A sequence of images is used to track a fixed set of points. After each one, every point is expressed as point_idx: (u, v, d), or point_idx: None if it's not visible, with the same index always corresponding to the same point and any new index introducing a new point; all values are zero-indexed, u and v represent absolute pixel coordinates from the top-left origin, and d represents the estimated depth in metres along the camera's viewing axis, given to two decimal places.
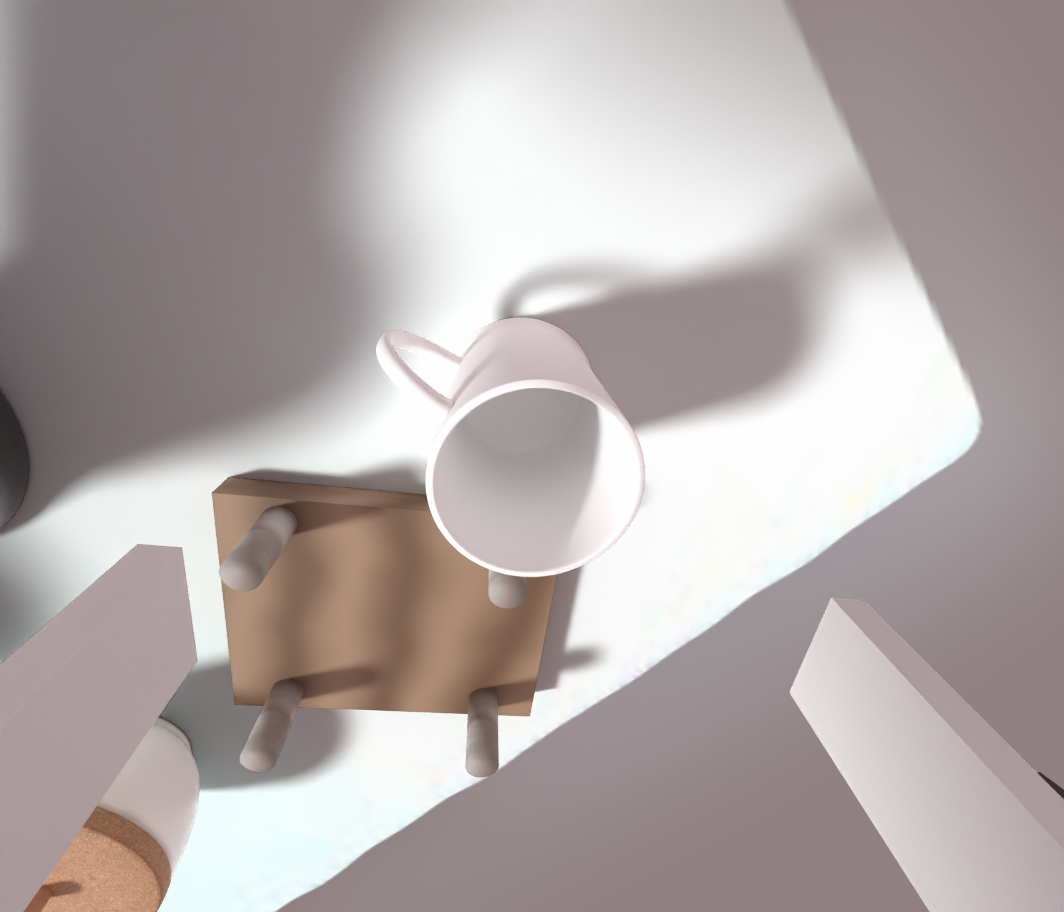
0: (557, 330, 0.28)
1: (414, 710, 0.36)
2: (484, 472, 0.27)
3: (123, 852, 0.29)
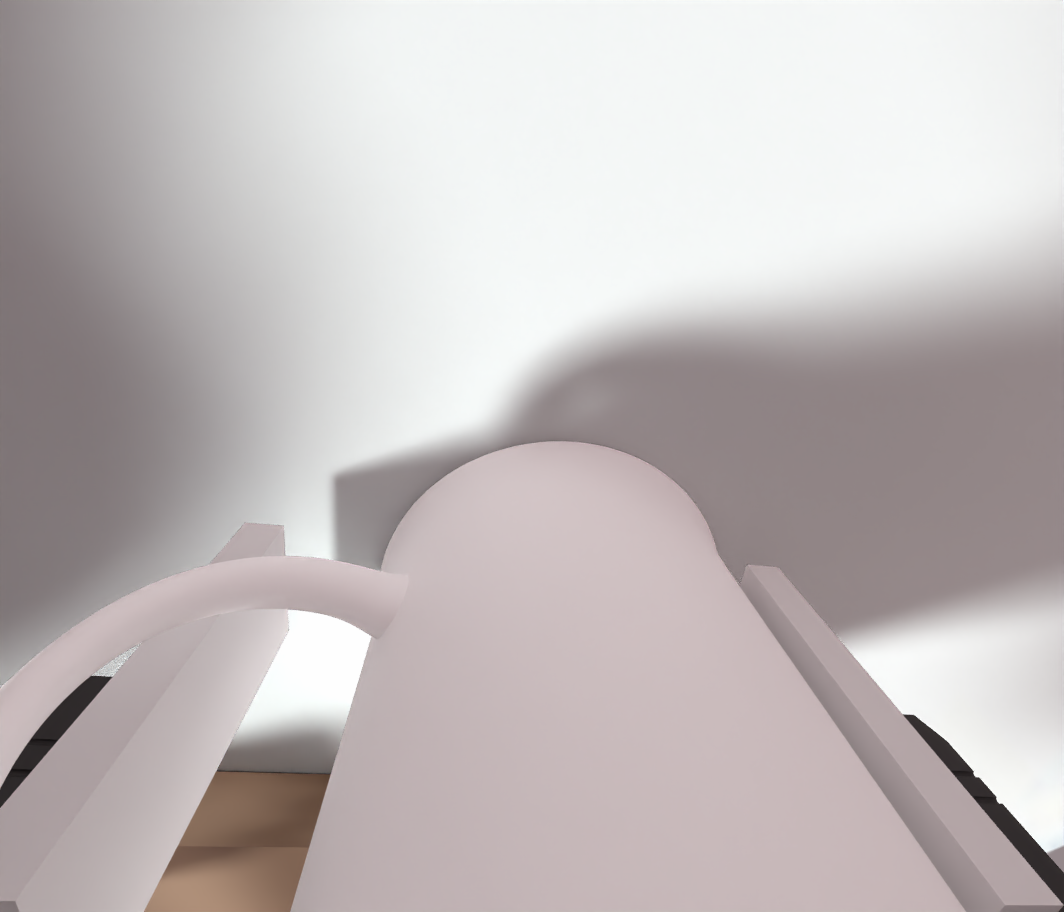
0: (648, 475, 0.11)
1: None
2: None
3: None
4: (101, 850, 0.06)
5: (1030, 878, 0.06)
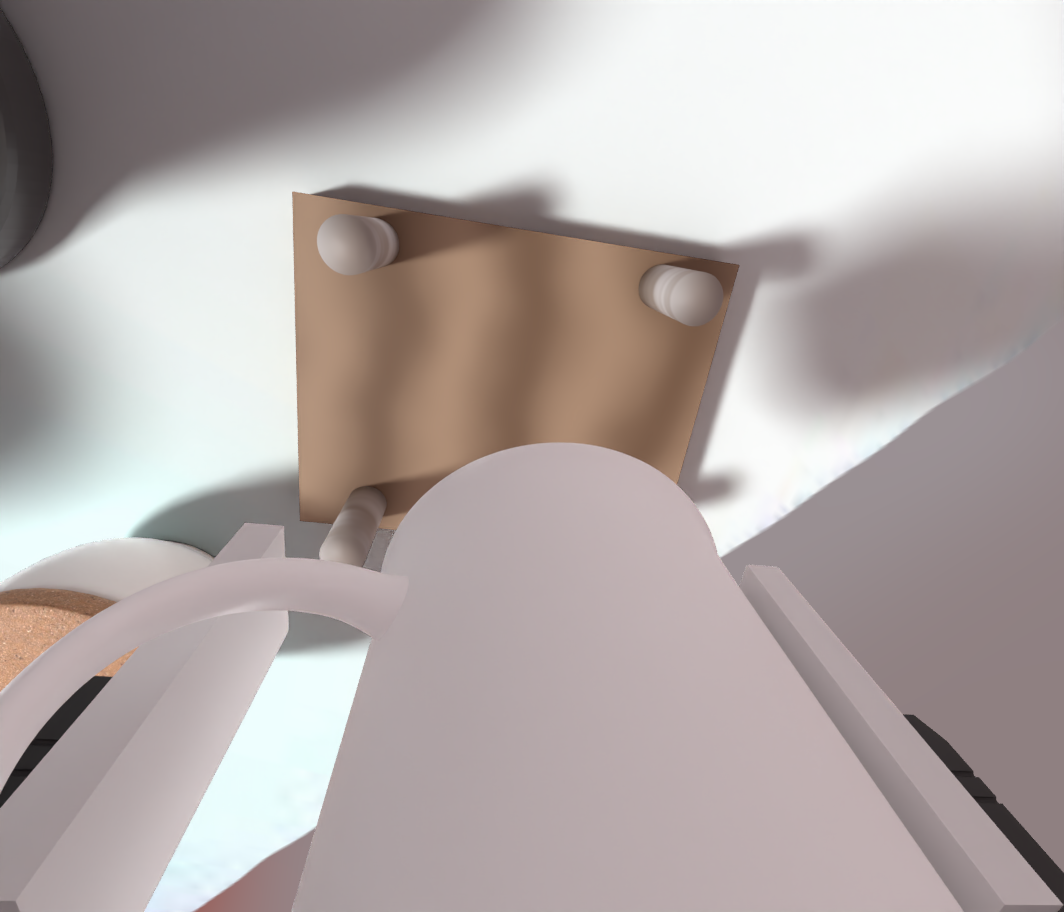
0: (648, 476, 0.11)
1: None
2: None
3: None
4: (101, 850, 0.06)
5: (1029, 877, 0.06)
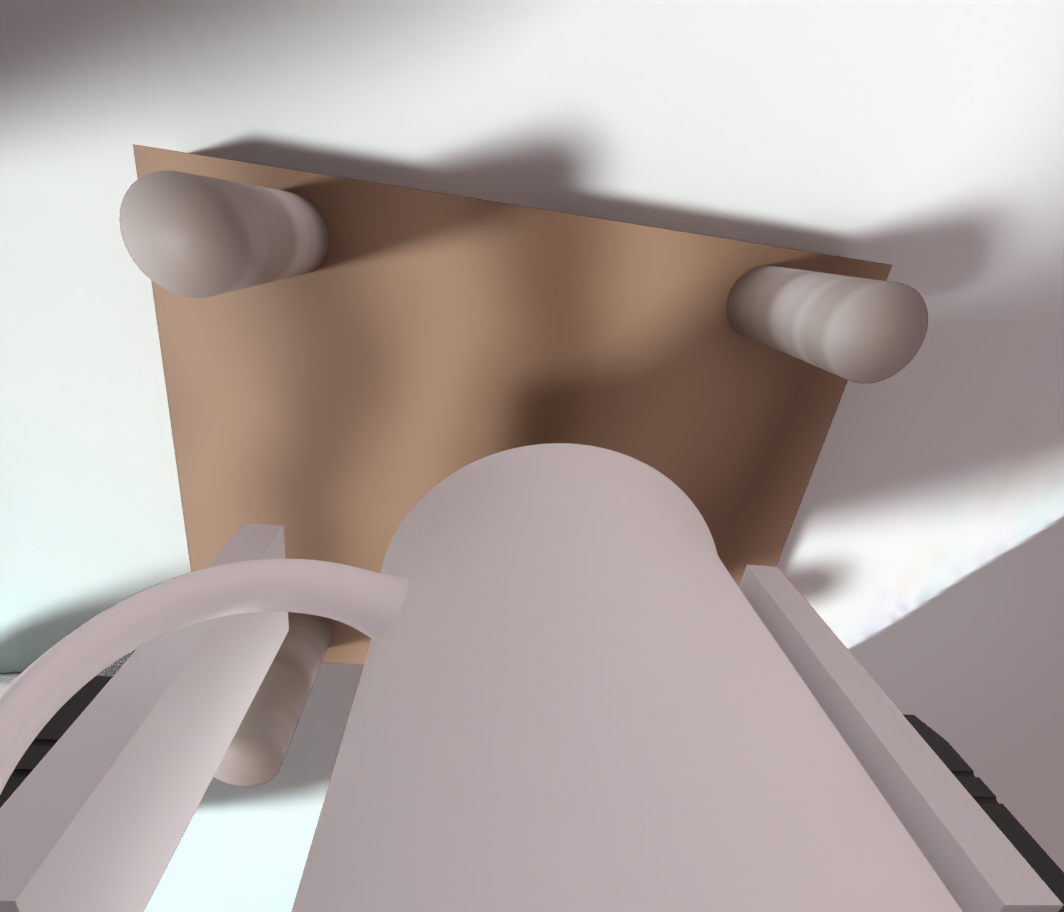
0: (648, 477, 0.11)
1: None
2: None
3: None
4: (101, 850, 0.06)
5: (1030, 878, 0.06)
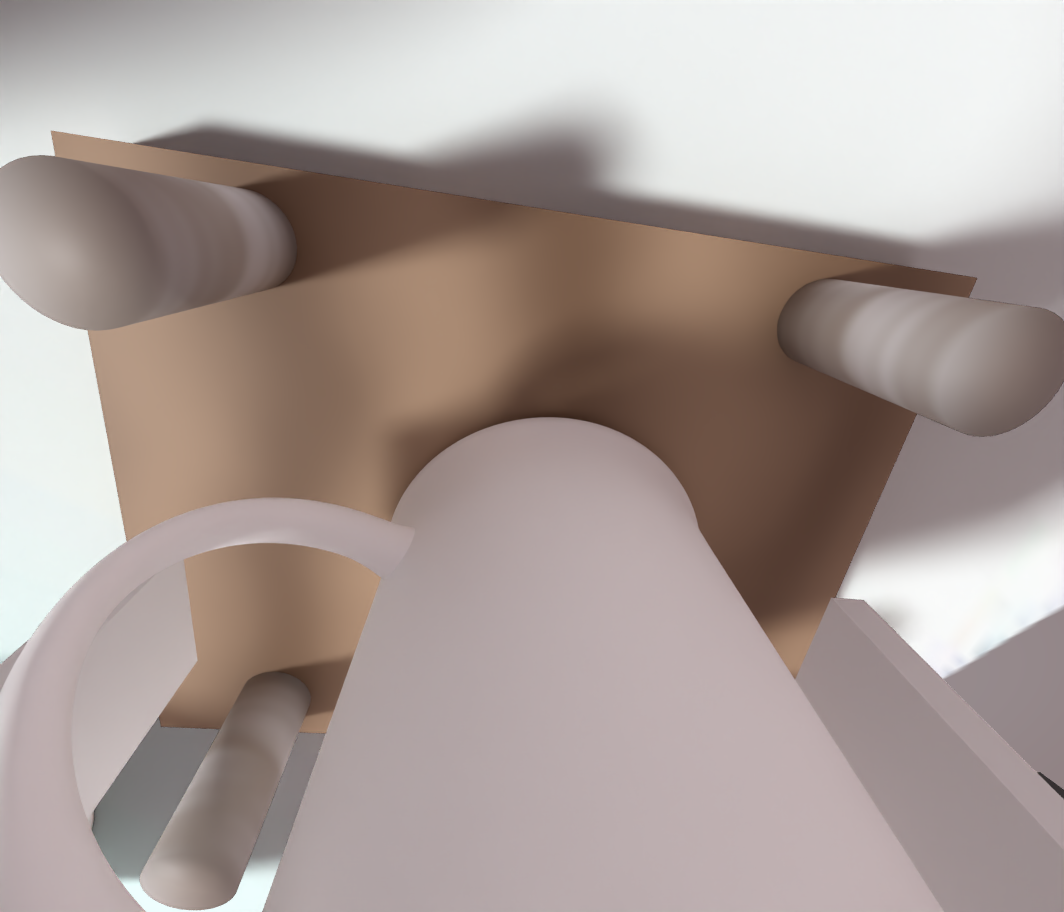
0: (636, 451, 0.13)
1: None
2: None
3: None
4: None
5: None
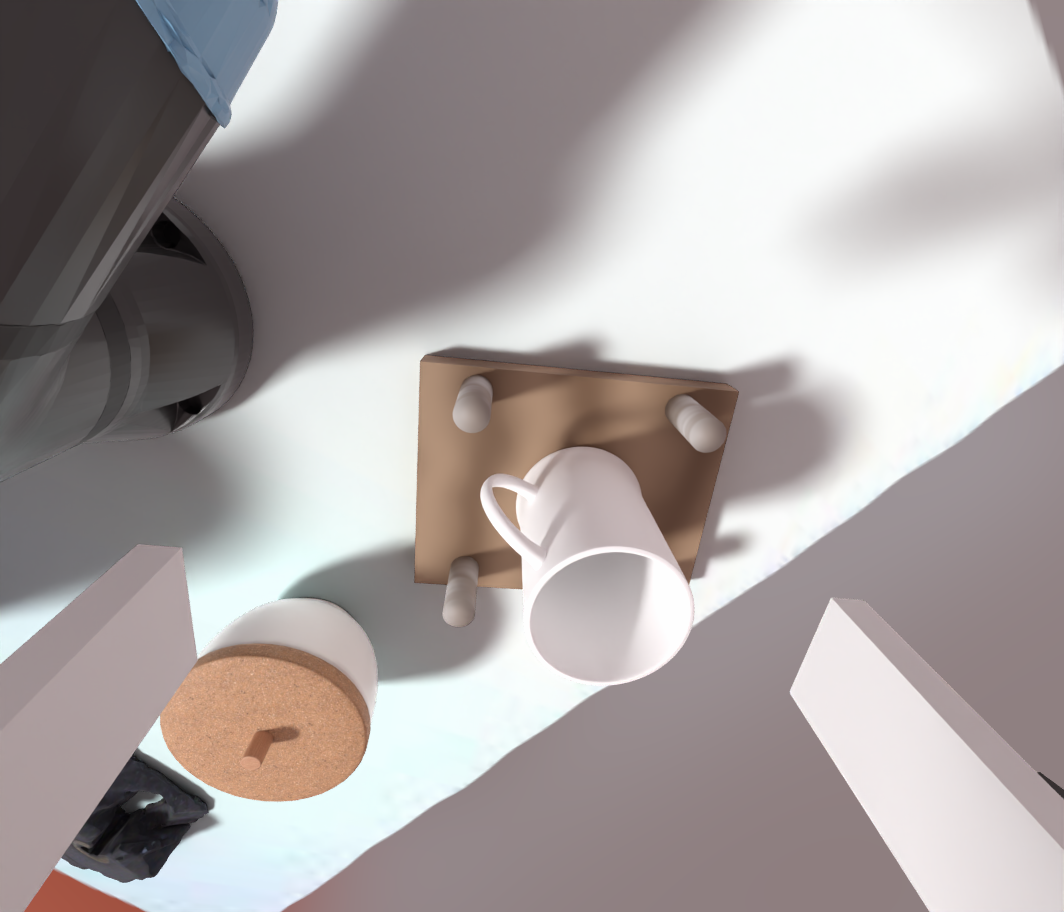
0: (613, 458, 0.34)
1: None
2: (551, 579, 0.32)
3: (341, 697, 0.32)
4: None
5: None
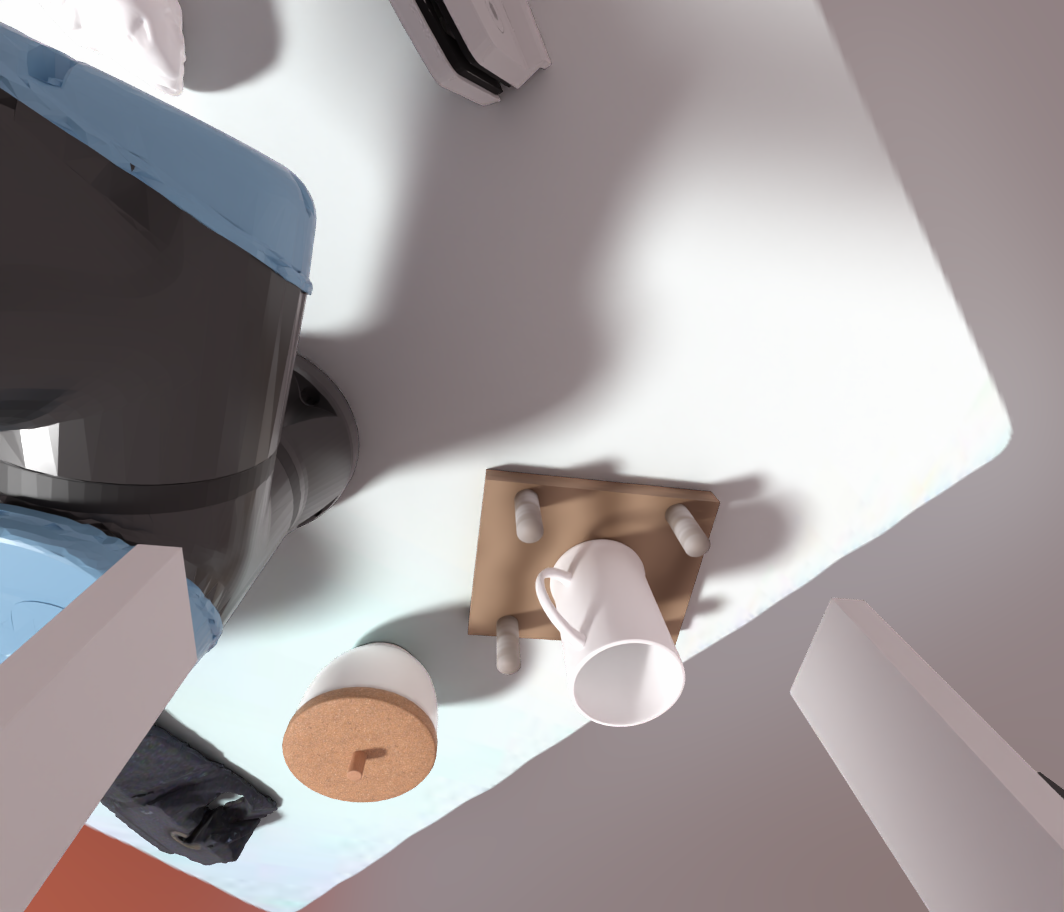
0: (625, 549, 0.45)
1: None
2: None
3: (421, 727, 0.43)
4: None
5: None
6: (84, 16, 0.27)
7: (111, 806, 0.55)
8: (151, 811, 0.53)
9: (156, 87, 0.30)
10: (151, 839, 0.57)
